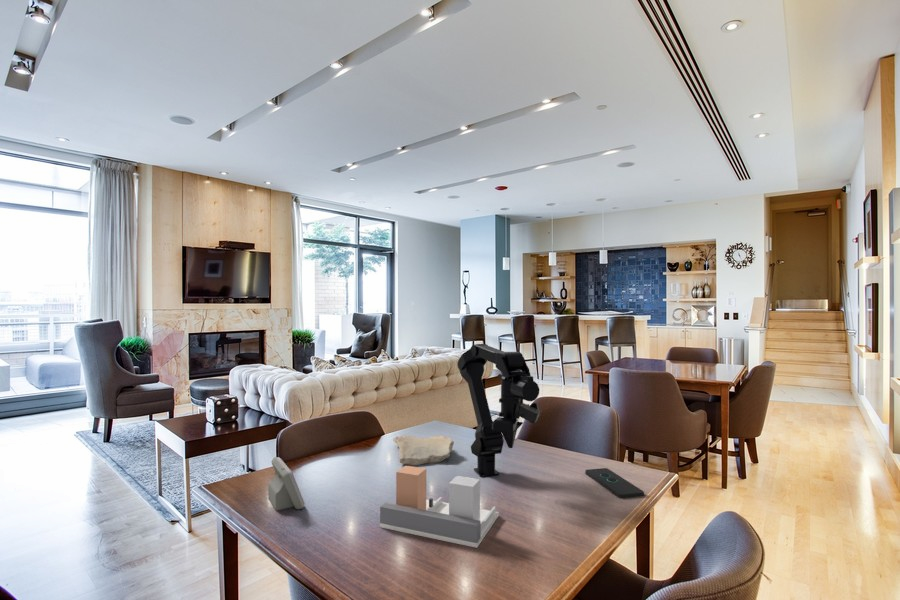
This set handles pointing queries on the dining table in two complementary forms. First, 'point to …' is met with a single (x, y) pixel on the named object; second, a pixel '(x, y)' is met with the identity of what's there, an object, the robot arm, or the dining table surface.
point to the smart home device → (614, 483)
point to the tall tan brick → (411, 487)
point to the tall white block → (464, 497)
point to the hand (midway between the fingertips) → (510, 447)
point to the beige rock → (423, 449)
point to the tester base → (437, 522)
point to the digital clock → (284, 488)
